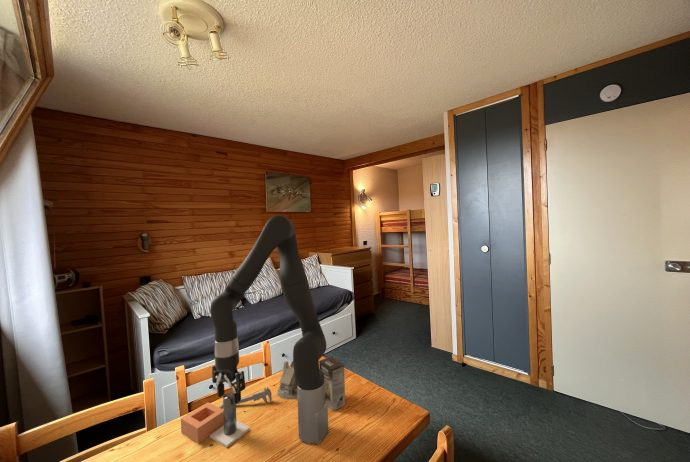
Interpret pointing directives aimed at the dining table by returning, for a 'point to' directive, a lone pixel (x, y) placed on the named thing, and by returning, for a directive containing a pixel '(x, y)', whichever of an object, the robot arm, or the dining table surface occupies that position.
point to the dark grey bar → (229, 414)
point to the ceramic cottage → (288, 382)
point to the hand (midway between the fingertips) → (229, 399)
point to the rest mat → (229, 439)
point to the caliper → (256, 397)
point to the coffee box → (333, 382)
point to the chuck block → (202, 422)
